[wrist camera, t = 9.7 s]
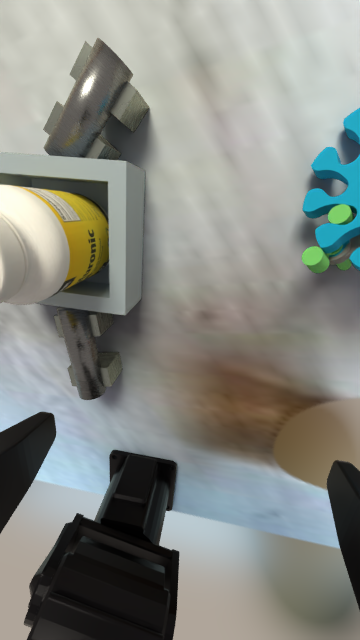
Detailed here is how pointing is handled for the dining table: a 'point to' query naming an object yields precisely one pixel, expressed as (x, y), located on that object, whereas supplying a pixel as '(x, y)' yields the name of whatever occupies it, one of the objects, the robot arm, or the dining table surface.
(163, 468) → the robot arm
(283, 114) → the dining table surface
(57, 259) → the supplement bottle
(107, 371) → the shaft
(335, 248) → the gear
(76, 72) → the shaft
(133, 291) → the housing
